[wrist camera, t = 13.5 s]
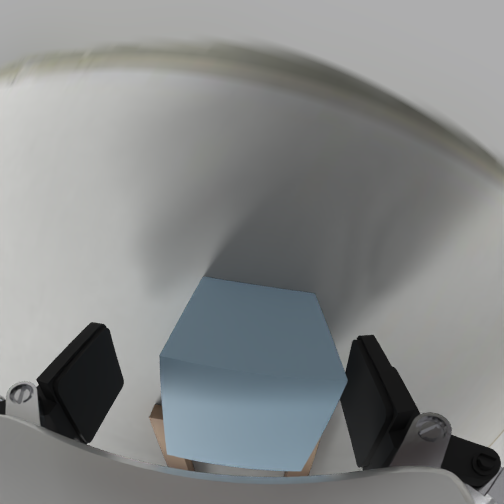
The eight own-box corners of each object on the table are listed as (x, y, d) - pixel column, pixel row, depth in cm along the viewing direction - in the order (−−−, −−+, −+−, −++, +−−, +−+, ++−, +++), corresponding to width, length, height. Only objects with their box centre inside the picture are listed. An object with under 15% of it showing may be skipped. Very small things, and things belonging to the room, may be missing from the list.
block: (291, 377, 14) (300, 471, 8) (196, 364, 14) (166, 454, 8) (314, 292, 13) (347, 380, 7) (203, 276, 13) (159, 355, 7)
